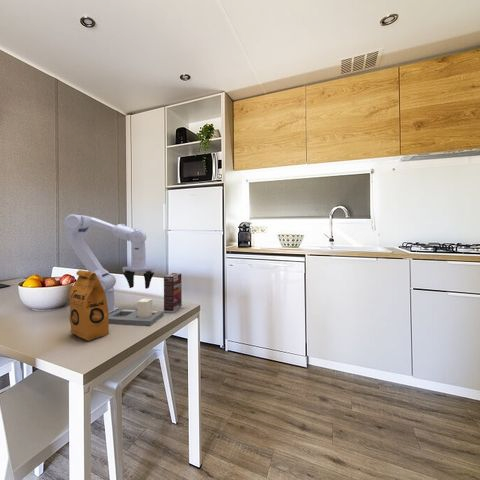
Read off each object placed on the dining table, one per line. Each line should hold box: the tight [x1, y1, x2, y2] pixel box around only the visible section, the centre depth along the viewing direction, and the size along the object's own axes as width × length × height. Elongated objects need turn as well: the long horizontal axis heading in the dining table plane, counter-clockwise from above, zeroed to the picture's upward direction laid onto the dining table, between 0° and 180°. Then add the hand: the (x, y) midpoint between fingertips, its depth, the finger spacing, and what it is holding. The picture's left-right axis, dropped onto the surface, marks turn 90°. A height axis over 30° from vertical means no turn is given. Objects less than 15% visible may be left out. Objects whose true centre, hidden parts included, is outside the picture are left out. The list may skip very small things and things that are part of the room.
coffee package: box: [68, 269, 110, 342], centre depth 83 cm, size 10×12×22 cm
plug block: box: [137, 298, 153, 318], centre depth 96 cm, size 4×4×8 cm
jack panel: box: [108, 308, 165, 327], centre depth 97 cm, size 20×11×2 cm, turn 82°
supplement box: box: [163, 272, 183, 314], centre depth 108 cm, size 9×5×16 cm, turn 168°
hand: (139, 287), depth 108 cm, fingers open, 7 cm apart
